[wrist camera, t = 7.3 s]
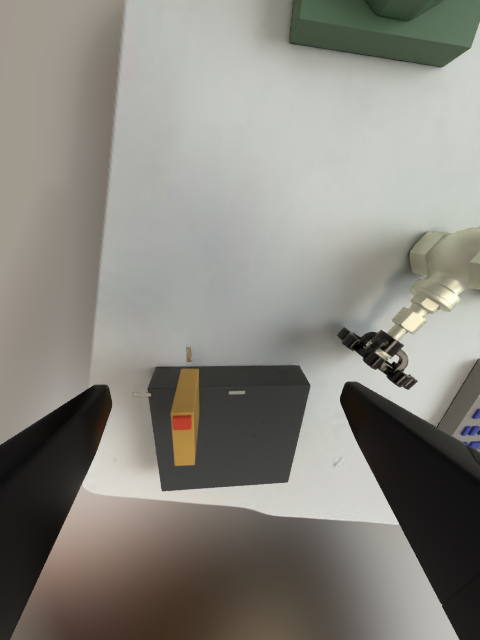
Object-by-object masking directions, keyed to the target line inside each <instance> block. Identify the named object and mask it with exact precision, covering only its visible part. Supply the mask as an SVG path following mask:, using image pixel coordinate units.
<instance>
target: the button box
mask: <svg viewBox="0 0 480 640" xmlns="http://www.w3.org/2000/svg"><path fill="white" fill-rule="evenodd" d="M479 22H480V0H294V2H293V12H292V21H291V31H290V43H295V44H301V45H308V46H314V47H320V48H327V49H333V50H339V51H346V52H352V53H358V54H365V55H371V56H377V57H384V58H390V59H396V60H403V61H409V62H415V63H422V64H428V65H434V66H441V67H444V66H445V65H447V64H448V63H449V62H451V61H452V60H454V59H455V58H457V57H458V56H460V55H461V54H463V53H464V52H466V51H467V50H469V49H470V48H471V46H472V43H473V40H474V37H475V34H476V31H477V28H478V25H479Z"/></svg>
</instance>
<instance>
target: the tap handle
mask: <svg viewBox="0 0 480 640" xmlns="http://www.w3.org/2000/svg"><path fill="white" fill-rule="evenodd" d="M198 424H199V369H181V372H180V376H179V380H178V384H177V388H176V392H175V397H174V401H173V405H172V409H171V425H172V438H173V450H174V463H175V466H184V465H195V458H196V446H197V435H198Z"/></svg>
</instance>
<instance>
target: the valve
mask: <svg viewBox="0 0 480 640" xmlns="http://www.w3.org/2000/svg"><path fill="white" fill-rule="evenodd" d="M409 258H410V265H411V269H412V272H413V273H416V274H420V275H424V276H428V277H427V278H426V279H419V280H418V281H417V282H416V283H415V284H414V285H413V286H412V287H411V288H410V292H411V293H412V294H413V295H414V297H413V298H412V299H411V303H412V306H411V307H410V308H409V309H407V308H405V307H403V308H402V309H401V310H400V312H399V313H398V314H397V315H396V316H395V317H394V318H393V319H392V321H393V322H394V323H395V325H394V326H393V327H392V328H391V329H390V330H389V331H388V333H385V332H384V331H382V330H380V331H379V332H378V333H376V332H369V333H366V334H364V335H363V336H362V337H360V336H358V335H357V334H355V333H353V334H351V333H349V332H350V330H348V329H347V328H345V327H344V328H343V329H342V330H341V331H340V332H339V333H338V334H337V336H338V337H339V338H340V339H341V340H343V341H342V343H343V344H344V345H345V346H346V347H347V348H349V349H350V350H352V351H356V352H357V353H358V354H360V355H361V356H362V357H363V361H364V362H365V363H366V364H367V365H369V366H370V367H371V368H373V369H375V370H376V369H379V370H380V371H382V372H383V373H384V374H386V375H387V378H388V379H389V380H390V381H391V382H393V383H394V384H395V385H397V386H398V387H402V386H403V387H404V388H405V389H407V390H409V389H410V388H411V387H412V386H413V385H414V384H416V383H417V382H418V381H417V380H416V379H415V378H414V377H412V376H411V375H407V374H405V373H404V372H403V371H404V369H405V368H406V367H407V365H408V357H407V355H406V353H405V352H404V351H402V350H401V348H402V347H403V346H404V345H403V344H402V343H400V342H399V340H400V339H401V338H402V337H403V336H404V335H405V334H406V333H407V332H409V333H411V334H414V333H415V332H416V331H418V330H419V329H420V328H421V327H422V326H423V325H424V324H425V323H426V320H425V319H424V317H425V316H426V315H427V314H428V313H430V314H435V313H436V312H437V311H438V310H442V311H445V312H450V311H451V310H452V309H453V308H454V307H455V306H456V305H457V304H458V303H459V302H460V301H461V299H460V297H459V295H460V294H461V293H462V292H463V291H464V290H466V289H477V290H480V228H469V229H465V230H461V231H458V232H456V233H442V232H427V233H426V234H425V235H424V236H423V237H421V239H420V240H419V241H418V242H417V243H416V244H415V245H414V247H413V248H412V249H411V251H410V255H409ZM371 339H372V340H371ZM370 340H371V341H370ZM369 341H370V342H369ZM368 342H369V344H370V345H368V346H367V345H366V344H367V343H368ZM395 354H396V355H397V356H399V361H398V363H395V362H393V363H392V364H391V363H389V362H388V361H387V359H388V358H389V359H391V358H392V357H393V356H394V355H395Z"/></svg>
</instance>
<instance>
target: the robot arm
mask: <svg viewBox="0 0 480 640" xmlns="http://www.w3.org/2000/svg"><path fill="white" fill-rule="evenodd" d="M340 402H341V405H342V408H343V410H344V413H345V415H346V417H347V420H348V422H349V425H350V427H351V430H352V432H353V435H354V437H355V439H356V441H357V443H358V445H359V447H360V449H361V451H362V453H363V455H364V457H365V459H366V461H367V463H368V465H369V466H370V468H371V470H372V472H373V474H374V476H375V478H376V480H377V482H378V484H379V486H380V488H381V490H382V491H383V493H384V495H385V497H386V499H387V501H388V503H389V505H390V507H391V509H392V511H393V513H394V515H395V516H396V518H397V520H398V522H399V524H400V526H401V528H402V530H403V532H404V534H405V536H406V538H407V539H408V541H409V543H410V545H411V547H412V549H413V551H414V553H415V555H416V557H417V558H418V561H419V563H420V564H421V566H422V568H423V570H424V572H425V574H426V576H427V578H428V580H429V582H430V583H431V586H432V588H433V589H434V591H435V593H436V595H437V597H438V599H439V601H440V603H441V604H442V607H443V609H444V611H445V613H446V615H447V617H448V619H449V620H450V622H451V624H452V626H453V628H454V630H455V632H456V634H457V636H458V638H459V640H480V452H479V451H477V450H476V449H474V448H472V447H470V446H469V445H465V444H464V443H463V442H461V441H460V440H458V439H456V438H454V437H453V436H451V435H449V434H447V433H446V432H444V431H442V430H440V429H439V428H437V427H435V426H433V425H432V424H430V423H428V422H426V421H425V420H423V419H421V418H419V417H418V416H416V415H414V414H412V413H411V412H409V411H407V410H405V409H404V408H402V407H400V406H398V405H397V404H395V403H393V402H391V401H390V400H388V399H386V398H384V397H383V396H381V395H379V394H377V393H376V392H374V391H372V390H370V389H369V388H367V387H365V386H363V385H362V384H360V383H358V382H346V383H345V385H344V387H343V390H342V393H341V396H340ZM111 408H112V400H111V395H110V390H109V387H108V385H94V386H92V387H90V388H89V389H87V390H85V391H84V392H82V393H81V394H79V395H78V396H76V397H75V398H73V399H71V400H70V401H68V402H67V403H65V404H64V405H62V406H61V407H59V408H58V409H56V410H54V411H53V412H51V413H50V414H48V415H47V416H45V417H43V418H42V419H40V420H39V421H37V422H36V423H34V424H32V425H31V426H30V427H28V428H26V429H25V430H23V431H22V432H20V433H18V434H17V435H15V436H14V437H12V438H11V439H9V440H7V441H6V442H4V443H3V444H1V445H0V640H10V638H11V636H12V634H13V632H14V630H15V627H16V625H17V623H18V621H19V619H20V617H21V614H22V612H23V610H24V608H25V606H26V604H27V601H28V599H29V597H30V595H31V593H32V591H33V589H34V586H35V584H36V582H37V580H38V578H39V575H40V573H41V571H42V569H43V567H44V564H45V563H46V560H47V558H48V556H49V554H50V552H51V550H52V547H53V545H54V543H55V541H56V539H57V537H58V535H59V532H60V530H61V528H62V526H63V524H64V521H65V519H66V517H67V515H68V513H69V511H70V509H71V506H72V504H73V502H74V500H75V498H76V495H77V493H78V491H79V489H80V486H81V485H82V483H83V480H84V478H85V476H86V474H87V472H88V470H89V467H90V465H91V463H92V461H93V459H94V456H95V454H96V452H97V449H98V446H99V443H100V441H101V438H102V435H103V432H104V429H105V426H106V423H107V420H108V417H109V414H110V411H111Z"/></svg>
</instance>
